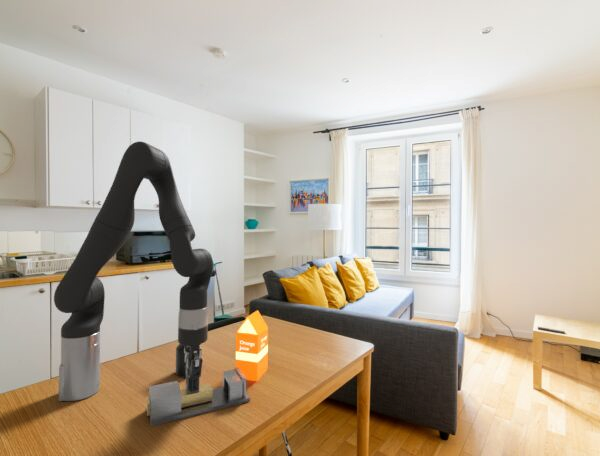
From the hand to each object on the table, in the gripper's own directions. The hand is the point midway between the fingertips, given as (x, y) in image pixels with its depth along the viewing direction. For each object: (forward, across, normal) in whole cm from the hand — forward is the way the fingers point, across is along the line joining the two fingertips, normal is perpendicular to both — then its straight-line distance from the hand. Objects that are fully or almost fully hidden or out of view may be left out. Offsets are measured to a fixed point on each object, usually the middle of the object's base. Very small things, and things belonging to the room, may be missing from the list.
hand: (192, 387), depth 86 cm
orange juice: (+5, -11, +21) cm, 24 cm away
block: (+4, 0, -3) cm, 5 cm away
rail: (+5, 0, +2) cm, 6 cm away
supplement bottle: (+5, -21, +2) cm, 22 cm away
